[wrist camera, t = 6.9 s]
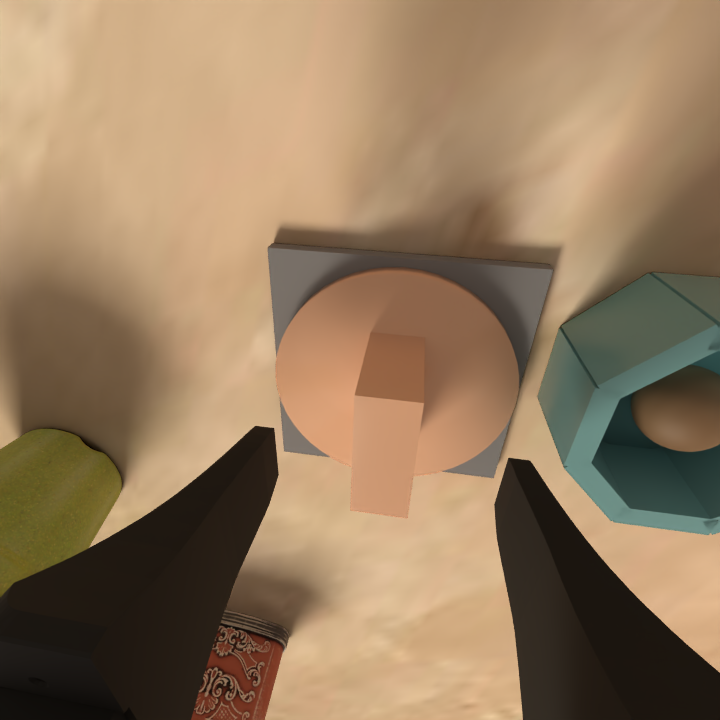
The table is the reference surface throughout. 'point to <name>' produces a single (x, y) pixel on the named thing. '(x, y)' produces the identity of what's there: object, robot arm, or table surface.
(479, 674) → the table surface
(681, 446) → the ball
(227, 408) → the table surface
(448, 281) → the lid
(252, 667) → the lighter
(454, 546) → the table surface
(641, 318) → the bowl
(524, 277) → the mat
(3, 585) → the plant pot
